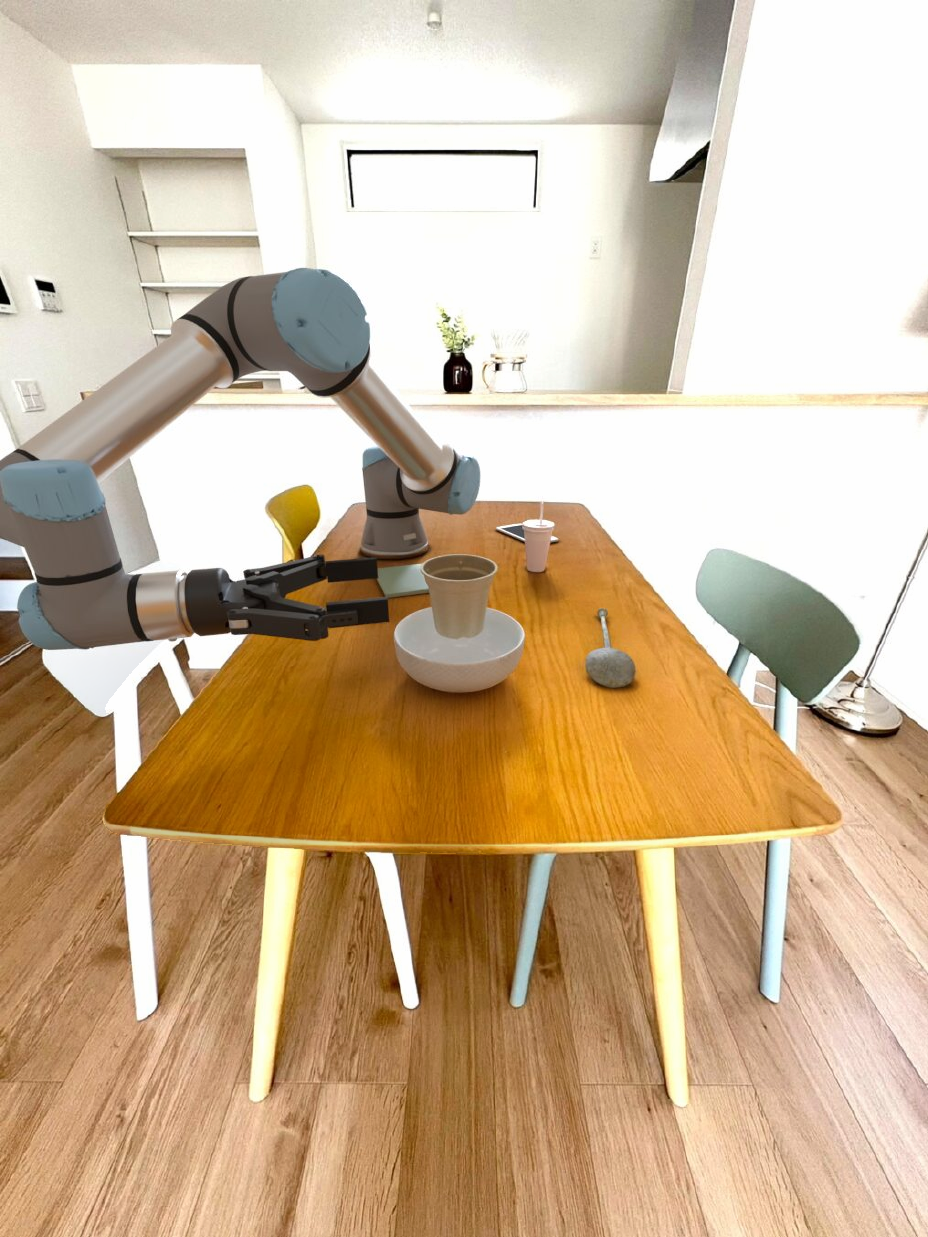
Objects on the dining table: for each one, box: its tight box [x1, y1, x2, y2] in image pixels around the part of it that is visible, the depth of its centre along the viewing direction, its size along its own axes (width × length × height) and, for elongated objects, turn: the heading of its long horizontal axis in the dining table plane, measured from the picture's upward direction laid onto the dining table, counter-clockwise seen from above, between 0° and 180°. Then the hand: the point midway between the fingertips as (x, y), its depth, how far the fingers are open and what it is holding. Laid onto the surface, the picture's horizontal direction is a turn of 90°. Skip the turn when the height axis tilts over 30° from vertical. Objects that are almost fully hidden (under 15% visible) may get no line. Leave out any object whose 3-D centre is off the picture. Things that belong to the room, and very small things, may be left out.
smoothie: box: [522, 501, 555, 573], centre depth 105 cm, size 6×6×14 cm
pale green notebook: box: [376, 563, 429, 599], centre depth 102 cm, size 14×14×1 cm
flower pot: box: [420, 553, 499, 639], centre depth 65 cm, size 9×9×9 cm
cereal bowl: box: [393, 606, 526, 694], centre depth 69 cm, size 17×17×7 cm
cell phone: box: [495, 523, 559, 544], centre depth 130 cm, size 8×16×1 cm, turn 30°
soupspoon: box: [585, 607, 637, 689], centre depth 77 cm, size 22×3×7 cm
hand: (382, 586), depth 63 cm, fingers open, 13 cm apart
